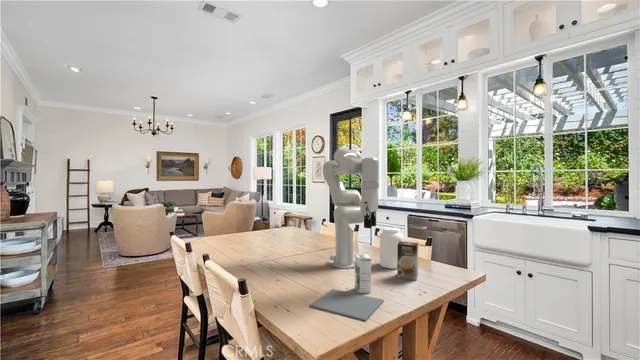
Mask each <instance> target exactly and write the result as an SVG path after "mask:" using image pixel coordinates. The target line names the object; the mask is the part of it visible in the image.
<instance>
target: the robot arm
mask: <svg viewBox="0 0 640 360" xmlns="http://www.w3.org/2000/svg"><path fill="white" fill-rule="evenodd" d="M361 157H362V156H361V153H360V151H358V150H357V149H349V148H348V149H346V148H343V149H338V150H336V151H334V153H333V160H327V161H325V162H324V163H323V164H322V175H323V178H324V180H325V182H326V184H327V186H328V188H329V193H330V196H331V200H332V203H333V205H334V206H335V207H336V208H334V210H333V219H334V227H335V255H332V254H331V255H329V260H330V261H333V262H332V266H333V267H335V268H338V269H353V268H355V260H354V231H353V229H352V228H351V227H350V225H351V224H355V225H356V224H362V223H363V228H364V229H372V227H376V226H377V211H378V209H379V193H378V190H379V189H380V187H379V186H380V183H379V182H380V181H379V180H380V179H379V178H380V174H379V173H380V171H379V169H380V165H379V163H380V162H379V159H378V157H377V158H376V157H364V158H361ZM351 175H352V176H353V175H361V176H360V177H361V181H360V182H361V185H360V187H361V188H360V189H361V193H360V192H359V191H358V190H357V189H346V188H345V184H344V182H343V181H342V180H341V179H340V178H339V177H338V176H351Z"/></svg>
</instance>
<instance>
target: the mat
mask: <svg viewBox="0 0 640 360" xmlns="http://www.w3.org/2000/svg"><path fill="white" fill-rule="evenodd" d="M384 302H385V299H381V298H377V297H372V296H367V295H365V294H360V293H355V292H354V293H353V292H349V291H344V290H339V289H335V288H331V289H330V290H329V291H327V292H326V293H324V294H323V295H322V296H320V297H318V298H317V299H316V300H314V301H313V302H311V303H310V304H309V307H310V308H313V309H318V310H319V311H320V310H321V311H325V312H329V313H333V314H336V315H340V316H344V317H347V318H352V319H355V320H360V321H363V322H367V321H368V320H369V319H370V318H371V317H372V315H373V314H375V312H376V311H377V310H378V309H379V308H380V306H382V304H383V303H384Z"/></svg>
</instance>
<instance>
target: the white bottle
mask: <svg viewBox="0 0 640 360" xmlns="http://www.w3.org/2000/svg"><path fill="white" fill-rule="evenodd" d="M399 241H402V242H405V237H404V234H403V233H401V230H400V228H399V227H389V226H387V227H384V228H383V230H382V232H381V233H380V234H379V265H380V267H383V268H385V269H389V270H390V269H392V270H393V269H396V270H397V254H398V243H399Z"/></svg>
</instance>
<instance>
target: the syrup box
mask: <svg viewBox="0 0 640 360" xmlns="http://www.w3.org/2000/svg"><path fill="white" fill-rule="evenodd" d="M354 255H355V257H354V259H355V260H354V262H355V267H354V289H355V291H356V294H370V293H372V290H371V289H372V288H371V287H372V285H371V283H372V281H371V280H372V258H371V256H370V255H369V254H365V253H364V254H363V253H361V254H360V253H359V254H354Z"/></svg>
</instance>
